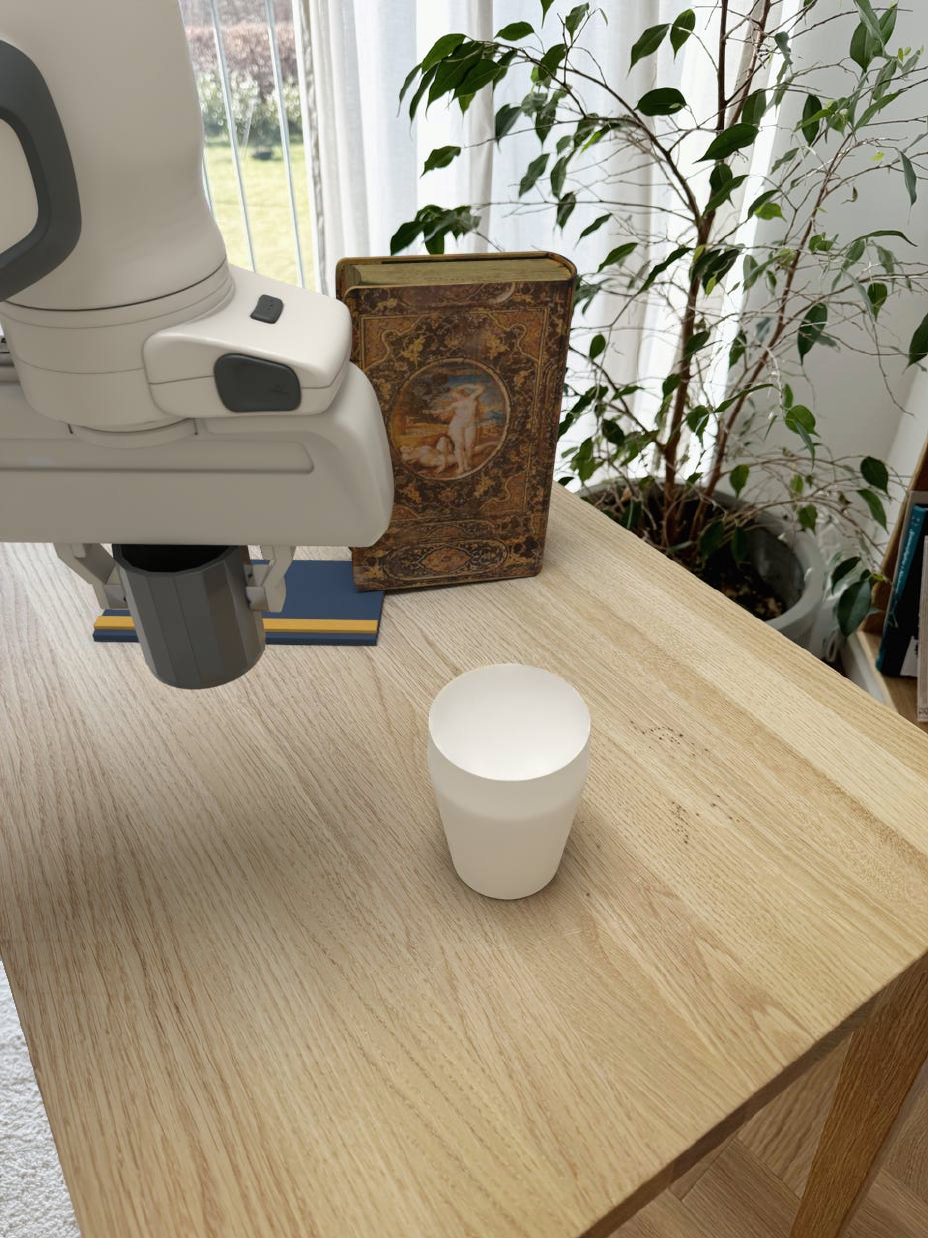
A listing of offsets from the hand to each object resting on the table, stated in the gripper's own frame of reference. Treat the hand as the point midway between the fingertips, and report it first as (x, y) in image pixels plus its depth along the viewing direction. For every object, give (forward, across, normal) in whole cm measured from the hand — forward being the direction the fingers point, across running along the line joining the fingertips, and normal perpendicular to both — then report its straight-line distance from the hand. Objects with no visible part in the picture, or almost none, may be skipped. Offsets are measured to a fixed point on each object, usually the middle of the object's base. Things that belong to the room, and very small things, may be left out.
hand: (196, 603), depth 48 cm
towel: (+20, -6, +24) cm, 31 cm away
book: (+20, +10, +29) cm, 36 cm away
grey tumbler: (+3, 0, 0) cm, 3 cm away
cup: (+20, +15, 0) cm, 25 cm away
